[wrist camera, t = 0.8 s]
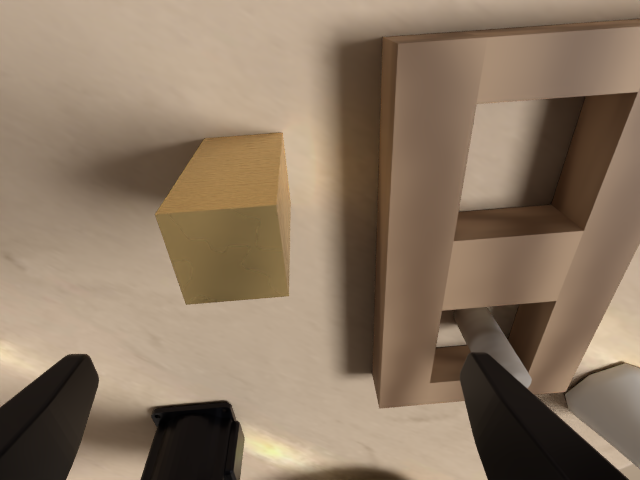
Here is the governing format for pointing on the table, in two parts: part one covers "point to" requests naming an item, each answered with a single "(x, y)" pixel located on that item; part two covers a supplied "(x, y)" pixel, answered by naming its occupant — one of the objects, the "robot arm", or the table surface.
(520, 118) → the table surface
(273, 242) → the peg
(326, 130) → the table surface
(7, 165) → the table surface
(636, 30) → the plate
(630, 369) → the flask
